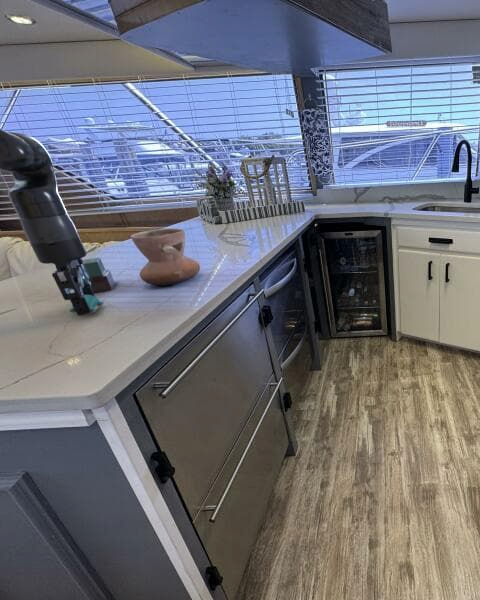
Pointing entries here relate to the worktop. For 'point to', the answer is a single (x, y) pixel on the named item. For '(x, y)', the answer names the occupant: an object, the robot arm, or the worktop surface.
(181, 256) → the ceramic jug
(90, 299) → the toy turtle
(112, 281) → the walnut block
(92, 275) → the green block
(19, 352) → the worktop surface
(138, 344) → the worktop surface
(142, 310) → the worktop surface
